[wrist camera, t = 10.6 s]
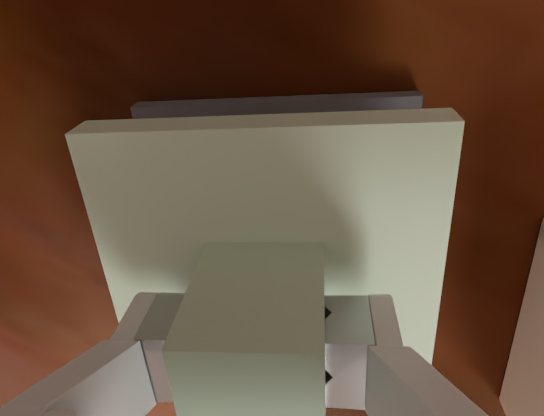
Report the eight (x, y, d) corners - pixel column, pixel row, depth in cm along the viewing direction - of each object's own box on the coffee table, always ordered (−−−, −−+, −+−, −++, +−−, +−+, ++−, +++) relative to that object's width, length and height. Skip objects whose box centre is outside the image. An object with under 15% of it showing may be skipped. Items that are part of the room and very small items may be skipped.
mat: (418, 90, 12) (422, 96, 12) (399, 317, 16) (402, 328, 16) (137, 102, 13) (130, 107, 13) (180, 313, 17) (176, 324, 16)
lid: (452, 107, 10) (540, 201, 6) (418, 381, 14) (458, 548, 10) (85, 120, 11) (-52, 209, 7) (151, 373, 15) (88, 522, 11)
